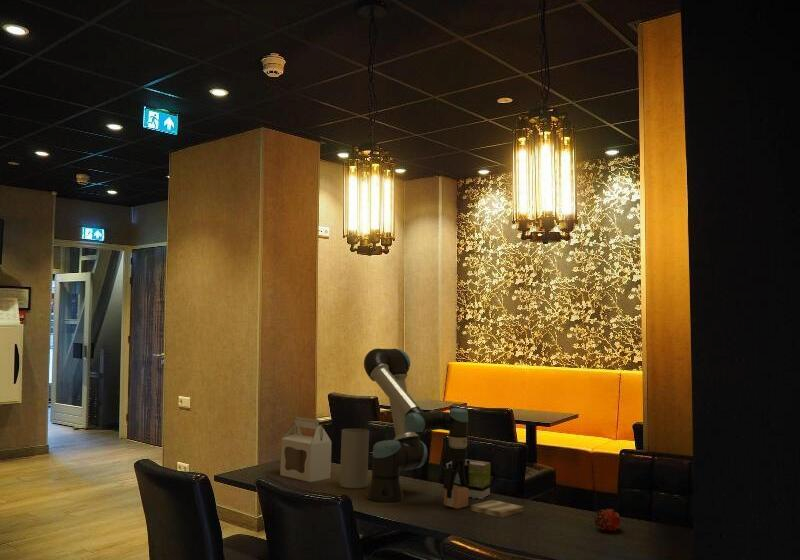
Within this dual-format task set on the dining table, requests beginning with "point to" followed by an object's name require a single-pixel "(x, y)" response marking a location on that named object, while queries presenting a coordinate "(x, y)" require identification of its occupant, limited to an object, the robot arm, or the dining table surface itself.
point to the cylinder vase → (354, 458)
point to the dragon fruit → (607, 519)
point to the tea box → (477, 479)
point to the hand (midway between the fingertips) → (456, 504)
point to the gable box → (298, 445)
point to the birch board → (497, 508)
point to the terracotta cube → (458, 497)
